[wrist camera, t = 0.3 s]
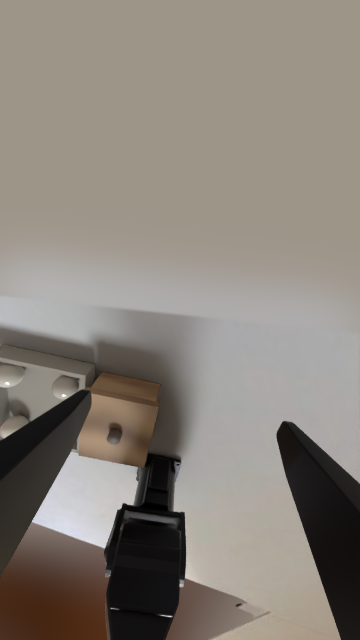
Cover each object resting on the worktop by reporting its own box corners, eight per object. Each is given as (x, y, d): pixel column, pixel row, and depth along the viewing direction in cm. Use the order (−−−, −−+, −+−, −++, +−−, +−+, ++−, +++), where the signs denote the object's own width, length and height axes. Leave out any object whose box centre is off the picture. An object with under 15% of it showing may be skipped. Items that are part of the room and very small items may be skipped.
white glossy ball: (31, 379, 26) (12, 395, 23) (8, 374, 26) (-14, 390, 23) (30, 360, 25) (10, 375, 22) (6, 355, 25) (-17, 369, 22)
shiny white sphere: (83, 390, 26) (70, 407, 23) (61, 385, 26) (45, 402, 23) (84, 372, 25) (71, 387, 22) (61, 367, 25) (45, 382, 22)
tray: (88, 437, 31) (80, 453, 28) (12, 422, 30) (-3, 437, 28) (95, 364, 26) (85, 375, 23) (3, 344, 25) (-16, 354, 23)
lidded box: (150, 437, 30) (142, 475, 25) (93, 426, 30) (74, 462, 25) (163, 382, 26) (157, 413, 21) (99, 368, 26) (78, 397, 21)
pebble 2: (34, 427, 29) (17, 446, 26) (13, 423, 29) (-5, 442, 26) (33, 412, 28) (15, 430, 25) (12, 408, 28) (-8, 426, 25)
